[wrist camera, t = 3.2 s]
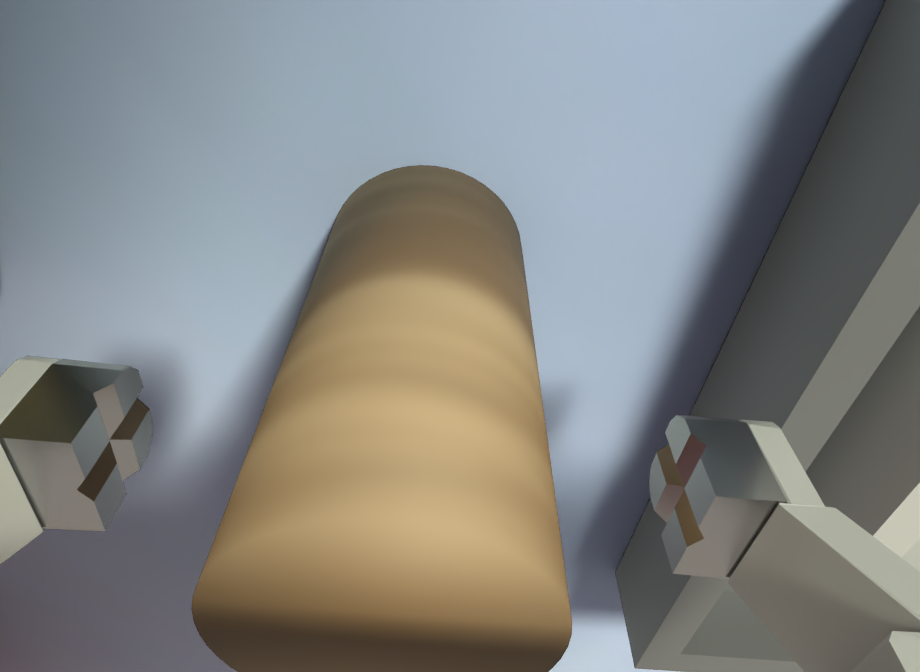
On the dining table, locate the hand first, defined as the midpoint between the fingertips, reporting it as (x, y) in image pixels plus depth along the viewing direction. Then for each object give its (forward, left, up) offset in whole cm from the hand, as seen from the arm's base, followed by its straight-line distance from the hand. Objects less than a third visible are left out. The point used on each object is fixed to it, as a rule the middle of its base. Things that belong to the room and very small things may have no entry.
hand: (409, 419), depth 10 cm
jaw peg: (0, 0, -5) cm, 5 cm away
